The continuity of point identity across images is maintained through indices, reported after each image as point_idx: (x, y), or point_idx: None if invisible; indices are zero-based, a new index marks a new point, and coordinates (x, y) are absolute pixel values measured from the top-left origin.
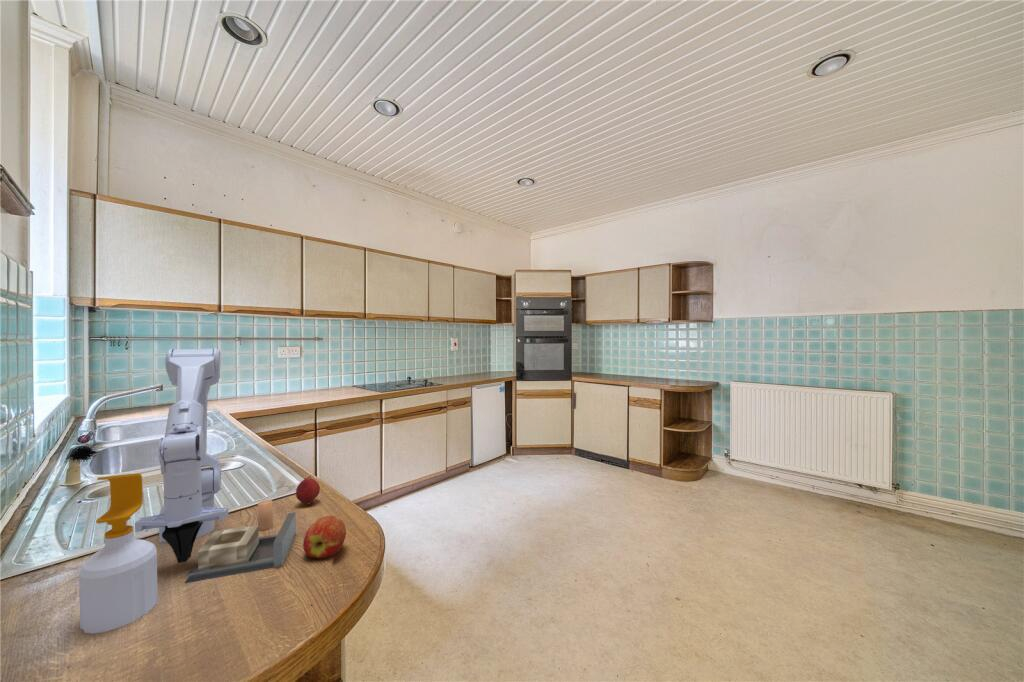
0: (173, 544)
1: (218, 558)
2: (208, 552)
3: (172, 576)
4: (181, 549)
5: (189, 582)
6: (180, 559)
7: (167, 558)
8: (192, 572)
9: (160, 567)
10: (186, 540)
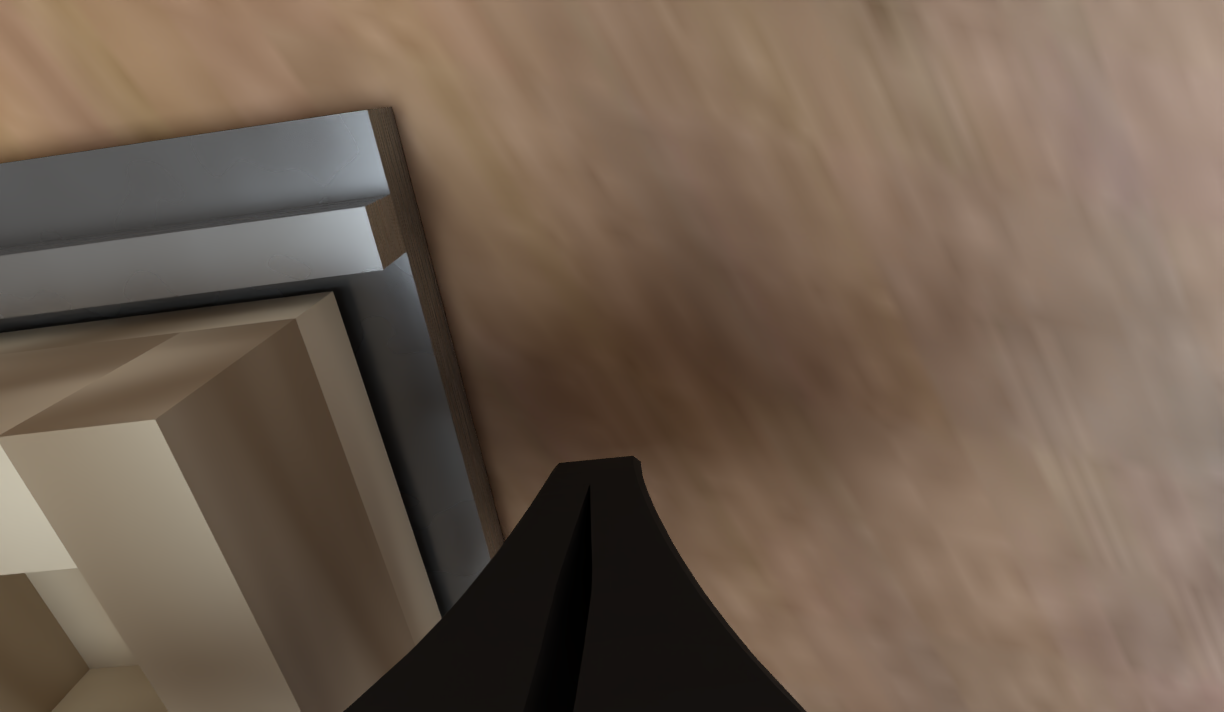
0: (663, 636)
1: (25, 372)
2: (33, 414)
3: (671, 365)
4: (560, 564)
5: (321, 119)
6: (602, 476)
7: (875, 640)
8: (325, 232)
9: (868, 528)
10: (415, 694)
